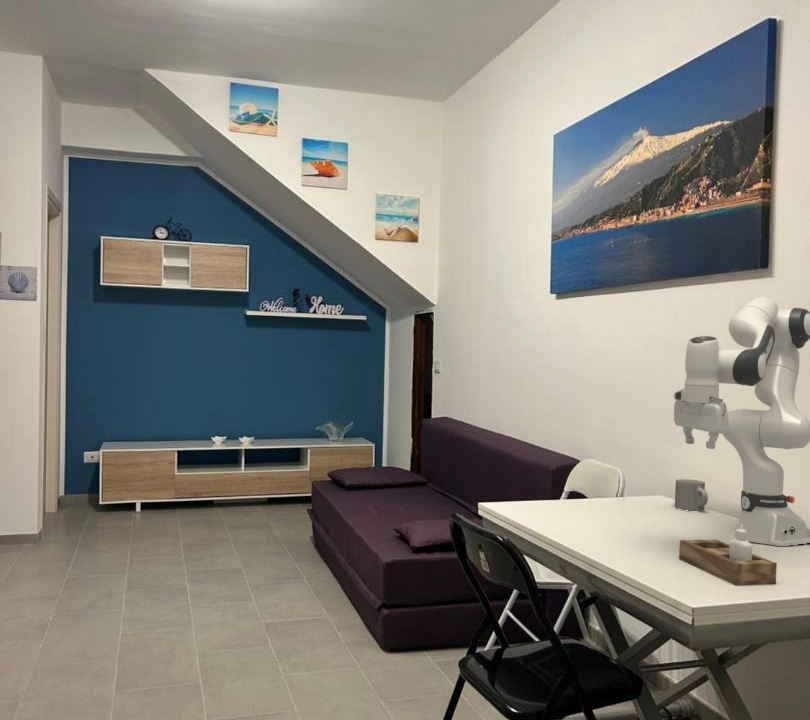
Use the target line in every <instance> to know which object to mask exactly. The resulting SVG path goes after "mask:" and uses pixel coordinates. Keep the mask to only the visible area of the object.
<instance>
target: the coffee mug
mask: <svg viewBox="0 0 810 720" xmlns="http://www.w3.org/2000/svg"><path fill="white" fill-rule="evenodd" d="M705 488H706V482H705V481H703V480H697V479H687V478H681V479H678V478H677V479H676V480H675V493H674V497H675V498H674V508H675V507H676V508H679V509H682V510H688V511H687V512H690V511H702V512H704V511H705V506H706V505H707V504H708V501H709V496H708V495H709V494H708V492H707V490H706V489H705ZM676 508H675V509H676ZM682 510H681V511H682ZM703 510H704V511H703Z"/></svg>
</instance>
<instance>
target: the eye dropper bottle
mask: <svg viewBox="0 0 810 720" xmlns="http://www.w3.org/2000/svg"><path fill="white" fill-rule="evenodd" d="M735 535H736V536H735V538H732V539H731V540H730V541H729V545H730V548H729V559H731V560H733V561H749V560H752V554H753V546H752V544H751V542H750V541H747V540H746V538H747V531H746V530H744V528H743V525H740V527H739V529H738V528H737V529H736V530H735Z"/></svg>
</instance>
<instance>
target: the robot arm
mask: <svg viewBox="0 0 810 720" xmlns="http://www.w3.org/2000/svg"><path fill="white" fill-rule="evenodd" d="M728 332H729V334H730V337H731V339H732V340H733V341H734V342H735V343H736V344H737V345H739V346H741V347H743V348H745V349H740V348H738V349H737V348H735V349H734V348H721V347H719V339H718V338H717V337H715V336H710V335H704V336H696V337H692V338H691V339H689V340H688V342H687V346H686V352H685V361H684V362H685V363H684V370H685V374H686V375H685V381H684V388H682V389H681V388H680V389H679V390H678V391H675V392H674V393H673V400H675V402H674V404H673V421H674V423H675V426H678V427H682V432H683V433H684V437H685V443H686V444H687V445H694V444H695V437H693V433H692V432H693V430H698V431H703V432H708V437H709V439H708V441H706V443H705V444H706V445H705V447H706V449H707V450H708V449H709V450H715V449H716V442H717V440H718V438H719V435H720V434H722V436H723V437H724V438H725V440H726V441H728V442H729V444H731V445H732V446H733V448H735V451H736V452H737V454H738V456H739V458H740V460H741V464H742V476H743V477H742V481H743V482H742V483H743V484H742V490H741V495H740V507H741V511H740V517H739V523H738V527H737V529H739V527H740V525H743V528H744V530H746V531H747V538H746V540H747V541H748V542H749V543H757V544H764V545H771V546H776V547H790V545H793V546H799V545H798V544H804V545H807V544H806V543H810V536H808V532H807V531H808V528H807V525H806V522H805V520H804V519H803V518H801V517H800V516H799V515H798V514H797V513H795V511H793V510H792V509H791V508H790V507H788V506H789V505H788V503H790V504H794V503H795V502H796V498H795V496H791V495H785V494H784V481H785V480H784V479H785V478H784V476H785V473H784V472H785V471H784V469H783V467H782V466H781V464H779V462H777V461H775V460H774V459H772V458H771V457H769V456H768V454H767V452H766V451H765V448H773V449H781V450H783V449H784V450H791V449H793V450H794V449H803V448H805V447H806V446H807V445H808V444H809V443H810V419H809V418H808V417H807V416H806V415H805V414H804V413H802V412H801V411H800V410H799V409H798V407H797V404H796V401H795V395H796V388H797V382H798V378H799V377H798V376H799V372H800V371H799V370H800V351H799V349H802V348H804V346H805V345H806V343H808V342H809V340H810V311H809V310H808V309H805V308H803V307H802V308H800V307H793V308H779V306H778V305H777V303H776V302H775V301H774V300H773V299H771V298H769V297H768V296H763V295H762V296H761V295H760V296H756V297H754V298H751V299H750V300H748V301H747V302H745V303H744V304H743V305H742V306H740V308H738V309H737V311H736V312H735V313H734V314H733V315H732V316H731V319H730V321H729V323H728ZM720 384H729V385H731V384H732V385H741V386H748V387H754V386H755V387H754V394H755V397H756V398H757V400H759V401H760V402H761V403H762V404H764V405H766V406H767V407H769V409H767V410H765V409H764V410H761V409H750V408H749V409H747V408H743V409H732V410H729V411H728V407H727V403H725V401H724V399H723V398H722V397H720V398H719V396H720V393H719V391H720ZM734 536H735V537H736V534H735V535H734Z"/></svg>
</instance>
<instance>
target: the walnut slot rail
mask: <svg viewBox="0 0 810 720" xmlns="http://www.w3.org/2000/svg"><path fill="white" fill-rule="evenodd" d="M729 548H730V543H729V544H728V543H726V542H724V541H722V540H718V539H681V540H679V552H678V553H679V554H678V555H679V556H678V559H679V560H680V561H683V562H684V563H687V564H689V565H691V566H693V567H696V568H697V569H700V570H702V571H704V572H706V573H709V574H711V575H713V576H714V577H717V578H719V579H721V580H723V581H726V582H728V583H730V584H732V585H734V586H749V585H750V586H752V585H753V586H756V585H757V586H758V585H776V584H777V565H778V564H777V562H774V561H773V560H770V559H767V558H764V557H761V556H759V555H756V554H754V553H752V560H749V561H733V560H731V559H729Z"/></svg>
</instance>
